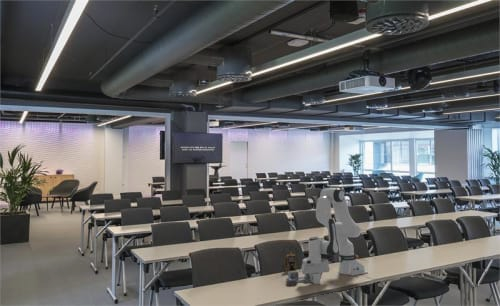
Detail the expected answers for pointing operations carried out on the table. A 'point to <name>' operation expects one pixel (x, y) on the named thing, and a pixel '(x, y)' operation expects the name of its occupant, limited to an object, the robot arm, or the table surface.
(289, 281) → the relay
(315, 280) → the module
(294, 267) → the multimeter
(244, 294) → the table surface
